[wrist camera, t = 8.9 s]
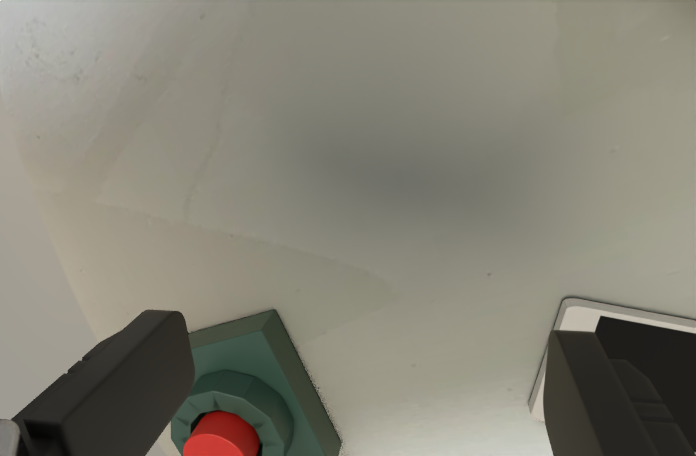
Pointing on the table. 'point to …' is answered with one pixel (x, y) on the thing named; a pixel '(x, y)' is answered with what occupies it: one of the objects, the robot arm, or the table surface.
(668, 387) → the smartphone
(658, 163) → the table surface
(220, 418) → the stop button
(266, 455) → the button block
